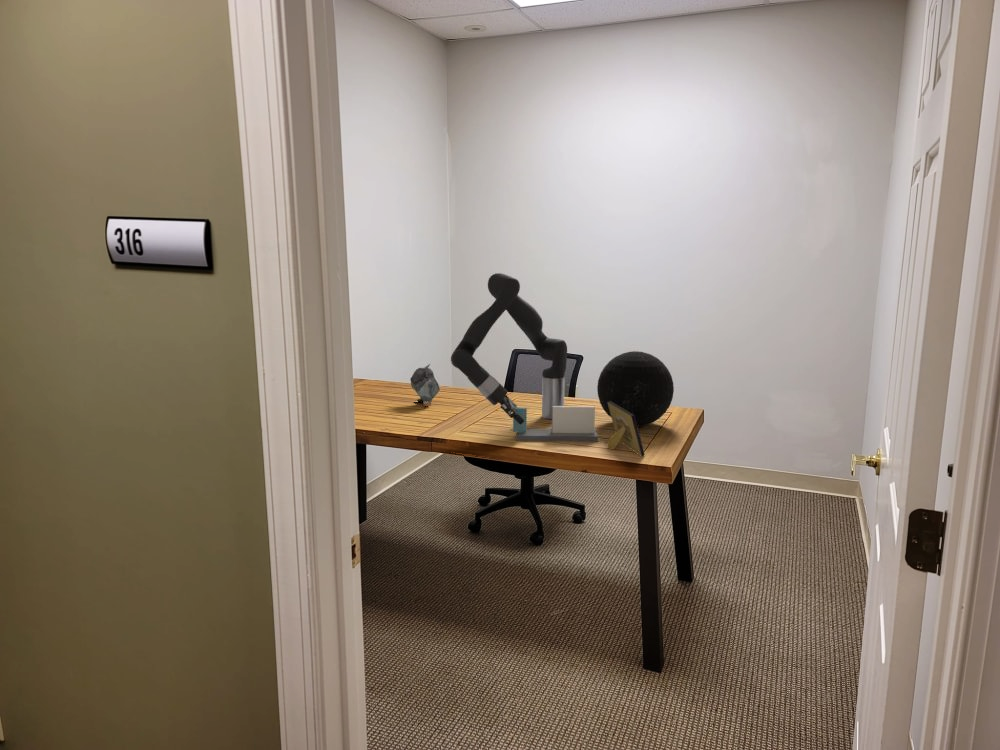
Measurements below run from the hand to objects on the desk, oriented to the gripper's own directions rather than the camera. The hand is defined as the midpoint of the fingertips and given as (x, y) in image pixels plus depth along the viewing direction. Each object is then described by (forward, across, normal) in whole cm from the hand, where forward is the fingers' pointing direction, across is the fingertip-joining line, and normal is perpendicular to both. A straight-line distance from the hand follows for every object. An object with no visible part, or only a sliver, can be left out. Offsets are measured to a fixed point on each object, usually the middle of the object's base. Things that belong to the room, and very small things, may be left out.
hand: (522, 420), depth 263 cm
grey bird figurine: (-26, +54, +36) cm, 70 cm away
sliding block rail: (+14, 0, -4) cm, 14 cm away
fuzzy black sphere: (+37, +20, -27) cm, 50 cm away
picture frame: (+30, -13, -20) cm, 38 cm away
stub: (+2, 0, +4) cm, 4 cm away
